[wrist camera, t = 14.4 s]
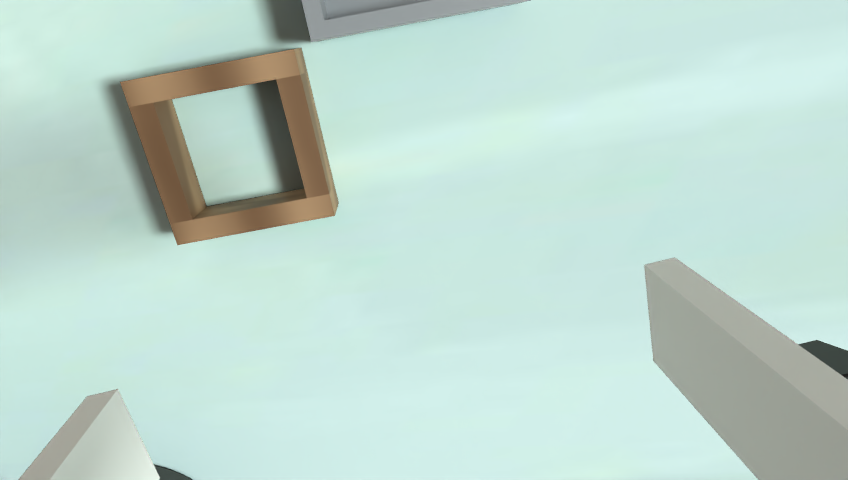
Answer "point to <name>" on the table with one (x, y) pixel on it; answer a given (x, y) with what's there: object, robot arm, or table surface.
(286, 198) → the walnut collar
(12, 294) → the table surface
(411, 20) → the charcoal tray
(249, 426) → the table surface
